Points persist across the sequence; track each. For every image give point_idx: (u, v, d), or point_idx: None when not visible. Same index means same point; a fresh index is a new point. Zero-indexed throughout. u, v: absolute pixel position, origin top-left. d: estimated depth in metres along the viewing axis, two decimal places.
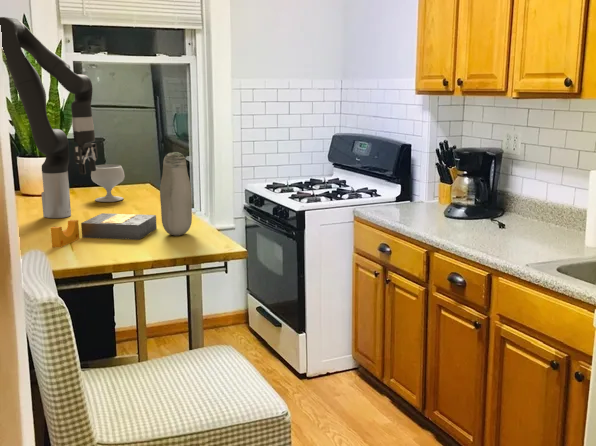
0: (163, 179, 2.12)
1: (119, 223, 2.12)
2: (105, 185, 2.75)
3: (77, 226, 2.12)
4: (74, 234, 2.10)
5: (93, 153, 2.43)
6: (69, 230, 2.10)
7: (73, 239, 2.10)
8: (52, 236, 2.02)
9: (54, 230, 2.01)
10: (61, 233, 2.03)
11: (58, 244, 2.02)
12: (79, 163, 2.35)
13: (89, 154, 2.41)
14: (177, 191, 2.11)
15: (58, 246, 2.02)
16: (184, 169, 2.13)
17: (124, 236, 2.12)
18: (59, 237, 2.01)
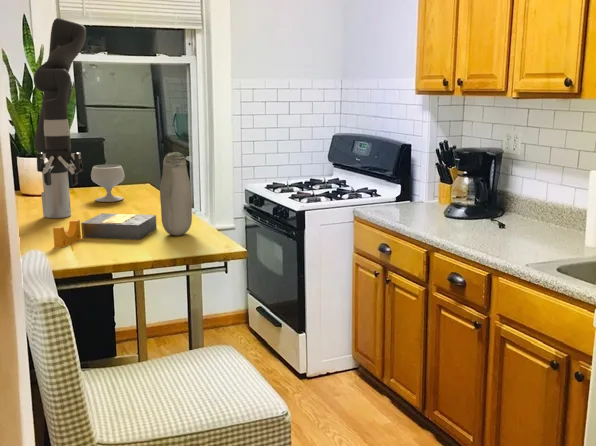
0: (163, 179, 2.12)
1: (119, 223, 2.12)
2: (105, 185, 2.75)
3: (79, 226, 2.12)
4: (76, 234, 2.10)
5: None
6: (70, 230, 2.10)
7: (75, 239, 2.10)
8: (54, 237, 2.01)
9: (57, 230, 2.01)
10: (63, 233, 2.02)
11: (60, 244, 2.02)
12: None
13: None
14: (177, 191, 2.11)
15: (60, 246, 2.02)
16: (184, 169, 2.13)
17: (124, 236, 2.12)
18: (61, 237, 2.01)
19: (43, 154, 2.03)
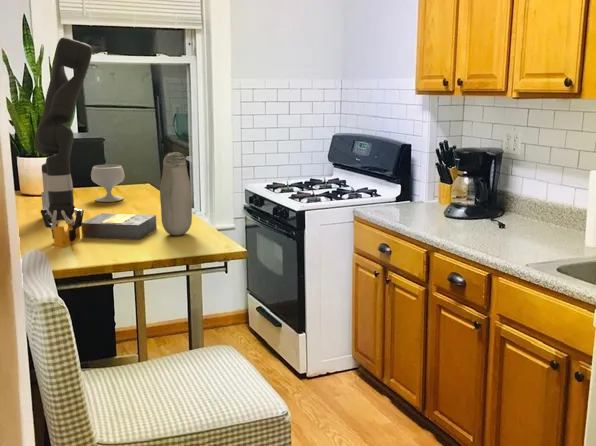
0: (163, 179, 2.12)
1: (119, 223, 2.12)
2: (105, 185, 2.75)
3: None
4: None
5: None
6: None
7: None
8: (54, 236, 2.01)
9: (57, 230, 2.01)
10: (63, 233, 2.02)
11: (61, 244, 2.02)
12: None
13: None
14: (177, 191, 2.11)
15: (61, 246, 2.02)
16: (184, 169, 2.13)
17: (124, 236, 2.12)
18: (61, 236, 2.01)
19: (47, 209, 2.06)
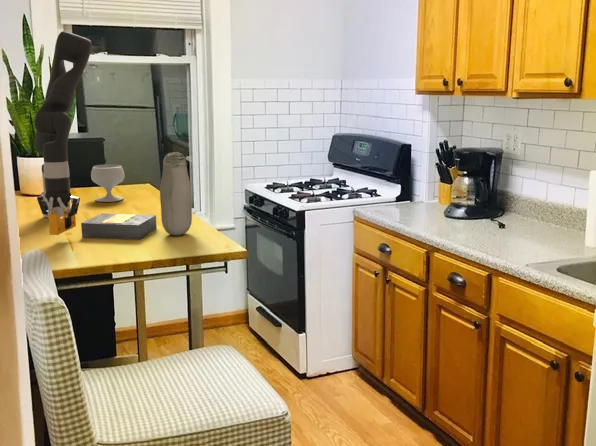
0: (163, 179, 2.12)
1: (119, 223, 2.12)
2: (105, 185, 2.75)
3: None
4: None
5: None
6: None
7: None
8: (49, 223, 2.01)
9: (52, 217, 2.00)
10: (59, 220, 2.02)
11: (56, 231, 2.01)
12: None
13: None
14: (177, 191, 2.11)
15: (56, 233, 2.01)
16: (184, 169, 2.13)
17: (124, 236, 2.12)
18: (56, 224, 2.01)
19: (43, 196, 2.05)
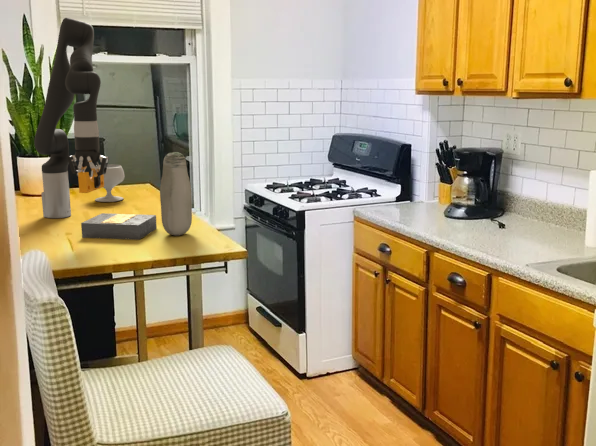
0: (163, 179, 2.12)
1: (119, 223, 2.12)
2: (105, 185, 2.75)
3: None
4: None
5: None
6: None
7: (99, 186, 2.13)
8: (79, 181, 2.05)
9: (82, 175, 2.04)
10: (88, 178, 2.06)
11: (85, 189, 2.05)
12: None
13: None
14: (177, 191, 2.11)
15: (85, 191, 2.05)
16: (184, 169, 2.13)
17: (124, 236, 2.12)
18: (86, 182, 2.04)
19: (73, 156, 2.09)
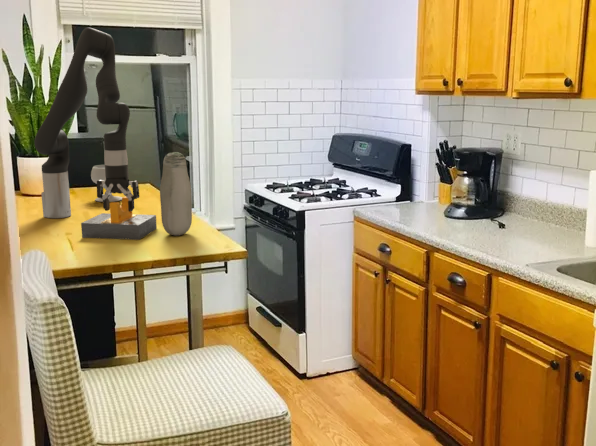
0: (163, 179, 2.12)
1: (119, 223, 2.12)
2: (105, 185, 2.75)
3: None
4: (128, 210, 2.22)
5: None
6: (123, 206, 2.22)
7: (128, 215, 2.21)
8: (110, 211, 2.13)
9: (114, 205, 2.12)
10: (119, 208, 2.14)
11: (117, 218, 2.13)
12: None
13: None
14: (177, 191, 2.11)
15: (117, 220, 2.13)
16: (184, 169, 2.13)
17: (124, 236, 2.12)
18: (117, 211, 2.13)
19: (102, 181, 2.17)
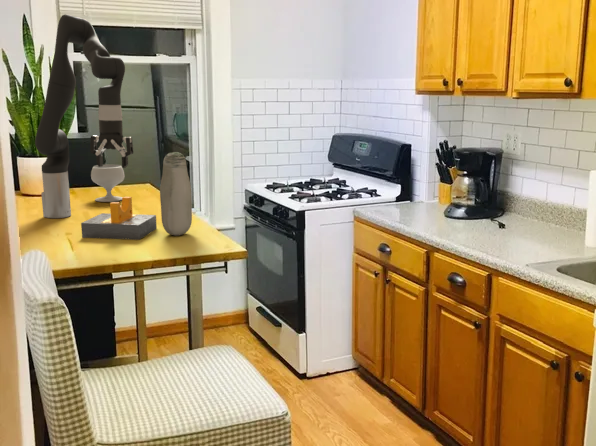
0: (163, 179, 2.12)
1: (119, 223, 2.12)
2: (105, 185, 2.75)
3: (131, 202, 2.23)
4: (128, 210, 2.22)
5: None
6: (123, 206, 2.22)
7: (128, 215, 2.21)
8: (111, 211, 2.13)
9: (114, 205, 2.12)
10: (119, 208, 2.14)
11: (117, 219, 2.13)
12: None
13: None
14: (177, 191, 2.11)
15: (117, 220, 2.13)
16: (184, 169, 2.13)
17: (124, 236, 2.12)
18: (118, 211, 2.13)
19: (96, 137, 2.16)
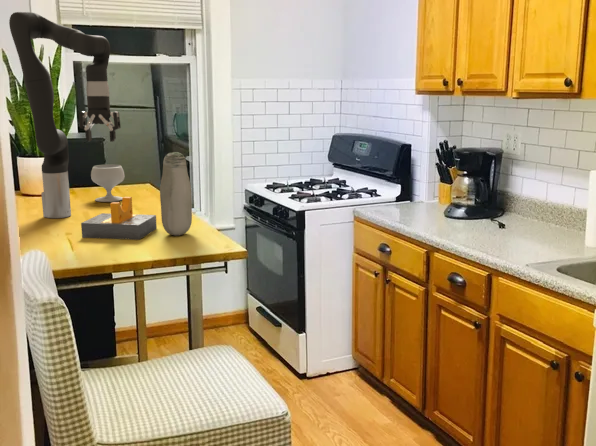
0: (163, 179, 2.12)
1: (119, 223, 2.12)
2: (105, 185, 2.75)
3: (131, 203, 2.23)
4: (129, 210, 2.22)
5: None
6: (124, 206, 2.21)
7: (128, 215, 2.21)
8: (111, 211, 2.13)
9: (114, 205, 2.12)
10: (120, 208, 2.14)
11: (117, 219, 2.13)
12: None
13: None
14: (177, 191, 2.11)
15: (117, 220, 2.13)
16: (184, 169, 2.13)
17: (124, 236, 2.12)
18: (118, 212, 2.13)
19: (85, 113, 2.26)
